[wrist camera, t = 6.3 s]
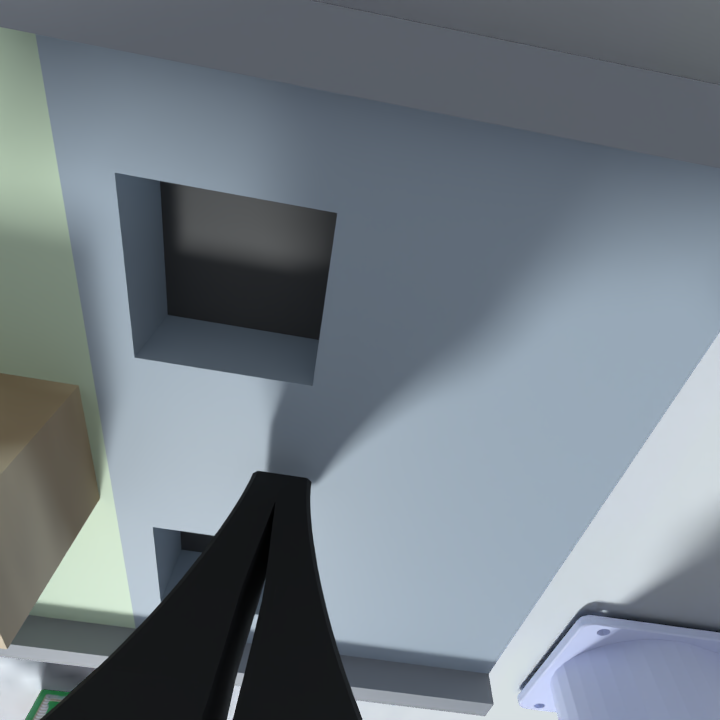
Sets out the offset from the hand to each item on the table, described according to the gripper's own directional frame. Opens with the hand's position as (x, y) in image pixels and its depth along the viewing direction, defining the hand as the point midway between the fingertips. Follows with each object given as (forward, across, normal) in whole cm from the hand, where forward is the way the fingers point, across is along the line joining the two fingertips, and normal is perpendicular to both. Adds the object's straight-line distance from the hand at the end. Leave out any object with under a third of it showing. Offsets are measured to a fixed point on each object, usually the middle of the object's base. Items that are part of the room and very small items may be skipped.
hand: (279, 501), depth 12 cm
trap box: (+3, +1, 0) cm, 3 cm away
